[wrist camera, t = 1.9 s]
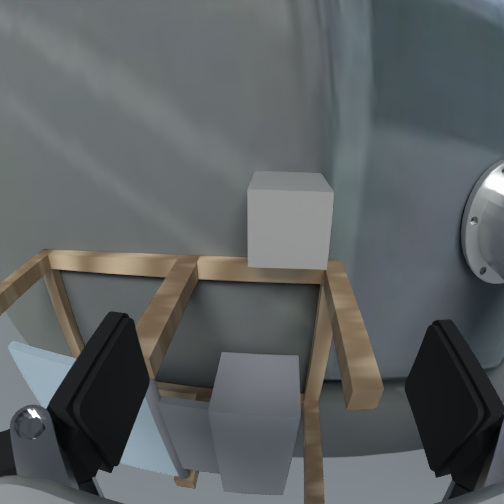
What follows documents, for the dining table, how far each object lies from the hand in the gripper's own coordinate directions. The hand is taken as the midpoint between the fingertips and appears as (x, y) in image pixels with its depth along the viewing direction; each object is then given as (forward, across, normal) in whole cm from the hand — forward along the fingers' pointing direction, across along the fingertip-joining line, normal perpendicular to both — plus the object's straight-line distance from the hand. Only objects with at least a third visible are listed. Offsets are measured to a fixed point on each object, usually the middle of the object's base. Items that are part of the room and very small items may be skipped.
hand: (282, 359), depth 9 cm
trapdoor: (+8, +9, +14) cm, 19 cm away
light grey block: (+17, -1, 0) cm, 17 cm away
